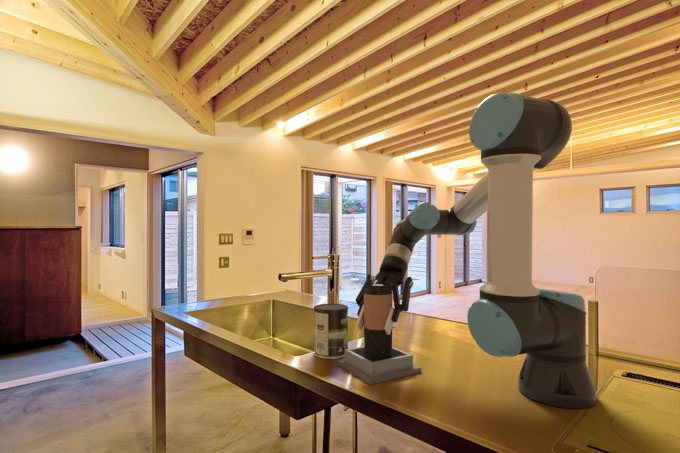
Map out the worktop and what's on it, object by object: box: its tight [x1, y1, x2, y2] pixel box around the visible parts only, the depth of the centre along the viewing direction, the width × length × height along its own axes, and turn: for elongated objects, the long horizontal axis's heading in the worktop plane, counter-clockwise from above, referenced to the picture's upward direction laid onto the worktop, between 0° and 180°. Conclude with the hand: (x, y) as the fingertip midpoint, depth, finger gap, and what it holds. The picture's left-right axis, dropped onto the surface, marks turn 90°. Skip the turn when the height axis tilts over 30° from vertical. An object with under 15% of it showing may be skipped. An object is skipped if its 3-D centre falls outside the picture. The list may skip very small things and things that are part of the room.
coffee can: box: [313, 303, 349, 360], centre depth 114 cm, size 10×10×14 cm
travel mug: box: [363, 282, 393, 362], centre depth 101 cm, size 8×8×20 cm
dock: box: [336, 345, 422, 385], centre depth 101 cm, size 16×16×4 cm
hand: (372, 329), depth 98 cm, fingers closed on travel mug, 7 cm apart
